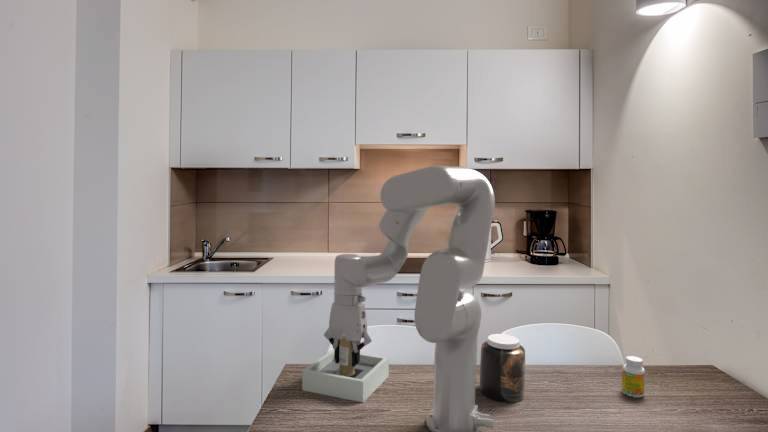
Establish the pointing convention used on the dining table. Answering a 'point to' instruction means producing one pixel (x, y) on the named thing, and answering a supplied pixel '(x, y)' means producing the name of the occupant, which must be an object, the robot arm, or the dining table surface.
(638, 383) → the supplement bottle
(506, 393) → the jar
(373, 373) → the open box
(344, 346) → the sprinkles bottle
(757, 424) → the dining table surface
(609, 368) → the dining table surface
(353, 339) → the robot arm
